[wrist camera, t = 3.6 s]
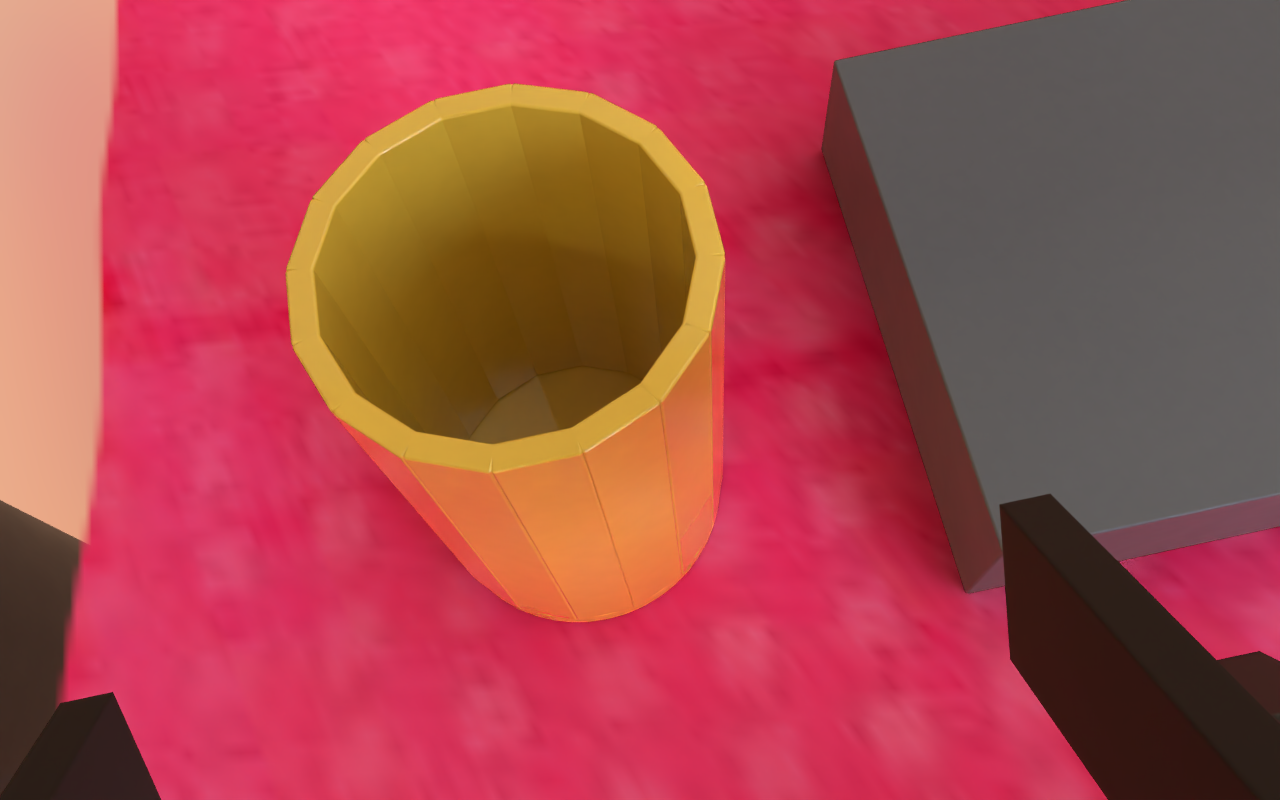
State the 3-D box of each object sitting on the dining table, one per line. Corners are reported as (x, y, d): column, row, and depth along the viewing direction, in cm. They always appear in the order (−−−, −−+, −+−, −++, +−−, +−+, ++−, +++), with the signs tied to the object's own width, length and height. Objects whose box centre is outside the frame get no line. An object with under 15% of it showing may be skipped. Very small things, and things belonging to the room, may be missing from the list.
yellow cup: (466, 649, 28) (303, 513, 17) (431, 391, 31) (272, 131, 20) (749, 589, 28) (769, 414, 17) (687, 337, 31) (670, 48, 20)
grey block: (965, 594, 28) (1003, 554, 24) (820, 148, 33) (833, 59, 30) (1497, 479, 28) (1616, 422, 24) (1266, 55, 33) (1334, -45, 30)
